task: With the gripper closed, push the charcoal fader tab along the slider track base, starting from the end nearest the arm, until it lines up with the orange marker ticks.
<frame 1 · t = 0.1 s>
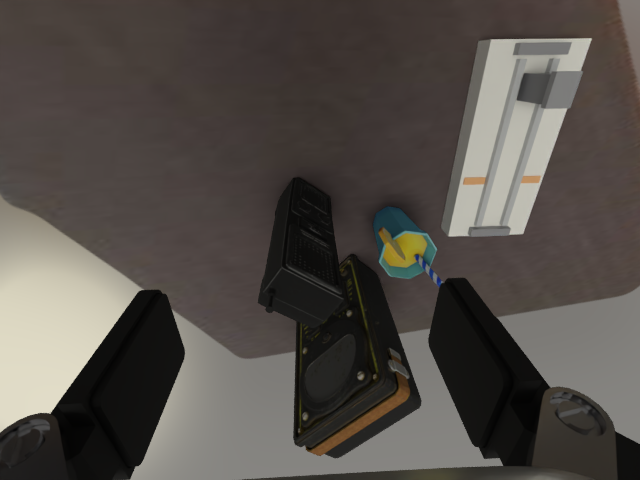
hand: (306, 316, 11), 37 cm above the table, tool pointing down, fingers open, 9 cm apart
black speaker: (336, 288, 57), on the table
cup: (393, 223, 51), on the table
fader tab: (545, 88, 36), point 6 cm above the table, slide at -8.0 cm
portable radio: (306, 202, 48), on the table
slider track base: (497, 146, 45), on the table
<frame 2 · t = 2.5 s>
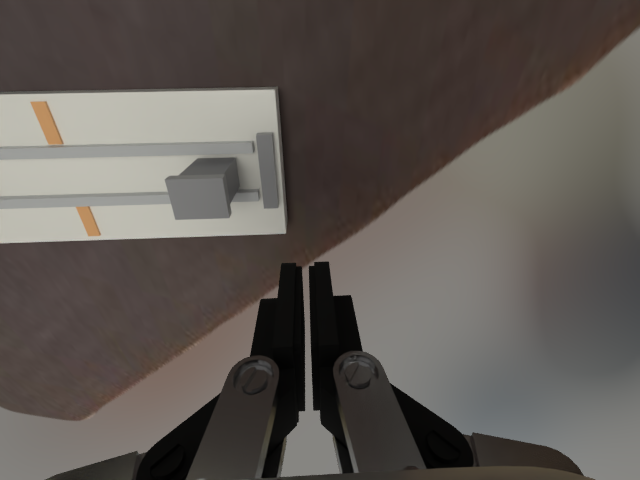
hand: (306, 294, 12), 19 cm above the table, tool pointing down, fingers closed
fader tab: (209, 184, 23), point 6 cm above the table, slide at -8.0 cm
slider track base: (137, 163, 28), on the table
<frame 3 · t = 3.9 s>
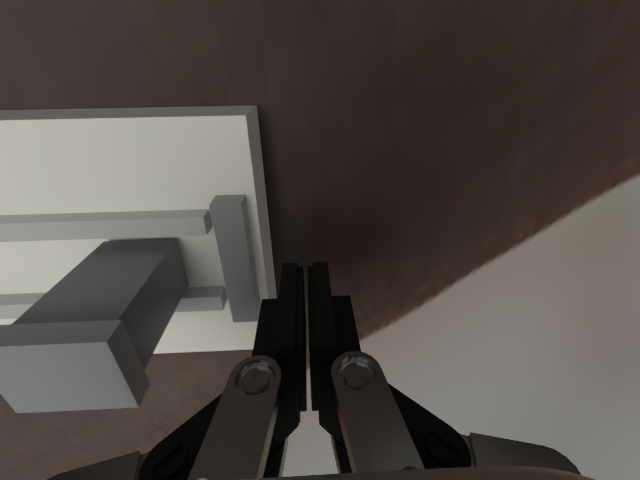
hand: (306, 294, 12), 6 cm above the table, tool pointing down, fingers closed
fader tab: (113, 309, 11), point 6 cm above the table, slide at -8.0 cm
slider track base: (20, 234, 16), on the table
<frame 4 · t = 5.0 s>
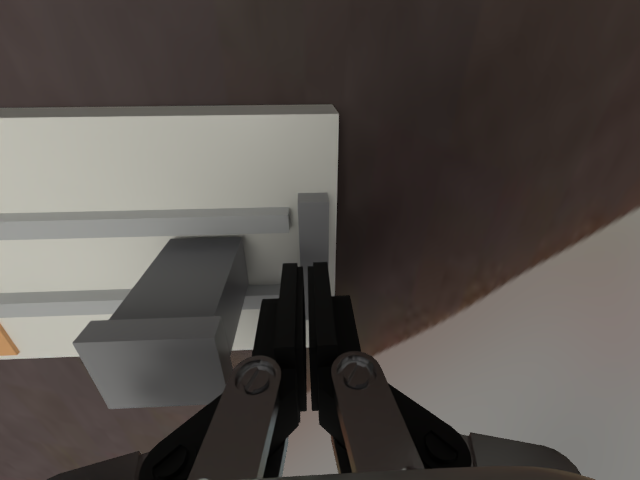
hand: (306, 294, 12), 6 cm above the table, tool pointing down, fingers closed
fader tab: (190, 305, 11), point 6 cm above the table, slide at -7.5 cm, touching gripper
slider track base: (83, 230, 16), on the table
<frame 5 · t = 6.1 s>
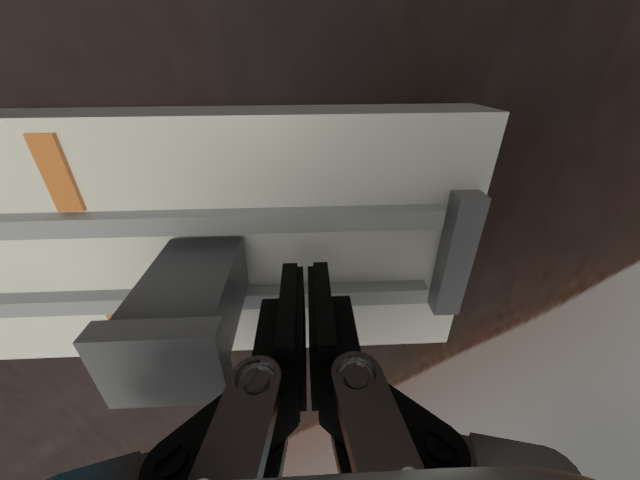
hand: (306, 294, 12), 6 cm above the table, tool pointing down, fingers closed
fader tab: (190, 306, 11), point 6 cm above the table, slide at -1.1 cm, touching gripper
slider track base: (205, 228, 17), on the table
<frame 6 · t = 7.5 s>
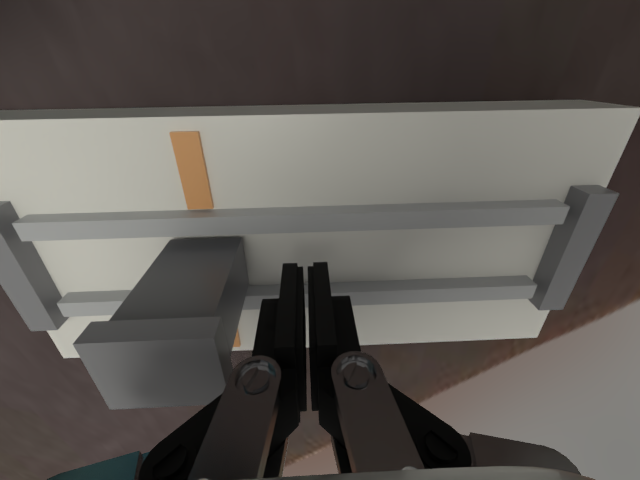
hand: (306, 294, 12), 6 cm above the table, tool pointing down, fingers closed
fader tab: (190, 306, 11), point 6 cm above the table, slide at 4.0 cm, touching gripper
slider track base: (301, 225, 17), on the table
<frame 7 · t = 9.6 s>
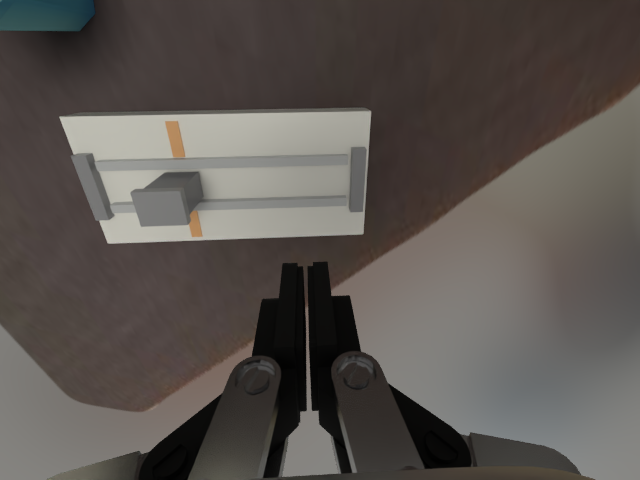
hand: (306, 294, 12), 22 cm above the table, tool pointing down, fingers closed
cup: (58, 3, 25), on the table
fader tab: (173, 195, 26), point 6 cm above the table, slide at 4.0 cm
slider track base: (235, 173, 32), on the table
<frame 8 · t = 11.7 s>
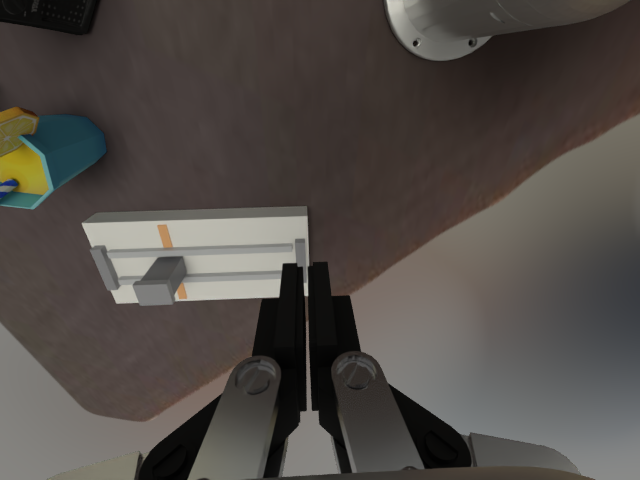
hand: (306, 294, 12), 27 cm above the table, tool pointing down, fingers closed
cup: (80, 145, 35), on the table
fader tab: (163, 279, 36), point 6 cm above the table, slide at 4.0 cm
slider track base: (211, 250, 42), on the table
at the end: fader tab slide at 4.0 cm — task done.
